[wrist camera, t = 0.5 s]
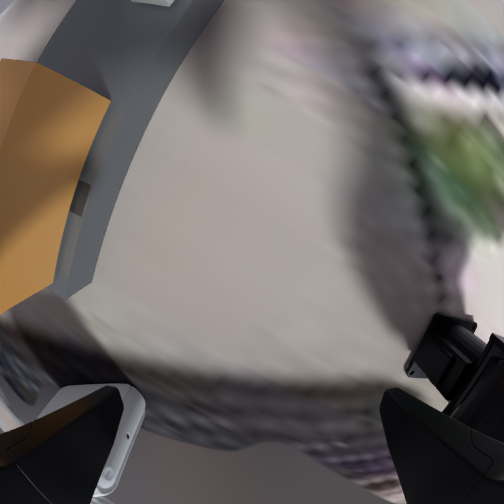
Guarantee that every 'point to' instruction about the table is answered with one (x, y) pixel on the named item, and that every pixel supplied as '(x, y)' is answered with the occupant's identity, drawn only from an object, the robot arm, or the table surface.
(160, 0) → the white slider
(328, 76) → the table surface
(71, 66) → the switch box
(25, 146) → the orange slider
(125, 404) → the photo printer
